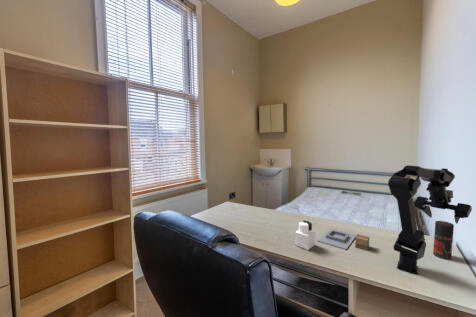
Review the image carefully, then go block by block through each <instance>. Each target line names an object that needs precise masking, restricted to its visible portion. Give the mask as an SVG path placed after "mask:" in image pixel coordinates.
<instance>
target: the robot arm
mask: <svg viewBox="0 0 476 317" xmlns="http://www.w3.org/2000/svg"><path fill="white" fill-rule="evenodd" d="M407 176H409V177H407ZM410 176H411V178H410ZM412 177H415V179H414V178H412ZM455 178H456V175H455V174H454V173H453V172H452V171H450V170H449V169H448V168H442V167H441V169H436V168H427V167H425V168H424V167H422V166H418V165H405V166H403V168H402V169H401V170H398V171H396V172H394V173H393V174H392V176H391V177H390V178H389V179H388V181H387V185H388V188H389V191H390V194H391V195H392V196H393V197H394V198H395V199H396V202H397V207H398V214H399V219H400V226H401V231H400V232H399V233H398V235H397V238H396V240H395V243H394V245H393V246H392V247H393V251H395V252H397V253H399V256H398V261H397V266H396V268H397V269H399V270H402V271H404V272H407V273H410V274H414V275H419V265H418V260H421V259H422V258H424V256H425V252H426V247H427V243H426V239H425V233H424V231H422V230H421V229H418V224H417V218H416V211H415V208H417V210H421V211H422V212H423V213H424V214H426V215H427V216H428V217H429V218H430V219H431V218H432V217H433V213H432V210H431V208H435V209H440V210H450V211H453V213H454V216H453V217H454V222H455V223H456V224H458V223H459V221H460V219H466V218H469V216H470V214H471V212H472V210H473V208H472V207H473V206H471V204H467V203H462V202H458V203H457V204H452V203H451V202H452V199H453V198H454V191H453V190H449V189H447V188H449V186H450V185H451V184H452V182H453V181H454V179H455ZM421 180H422V181H424V182H426V183H427V182H428V183H427V187H426V189H425V190H426V191H427V192H428V194H429V197H424V196H420V195H419V196H416V194H417V193H418V189H419V188H420V186H421V185H422V182H421ZM415 196H416V198H415V199H413V198H414V197H415ZM429 200H430V201H429Z"/></svg>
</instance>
